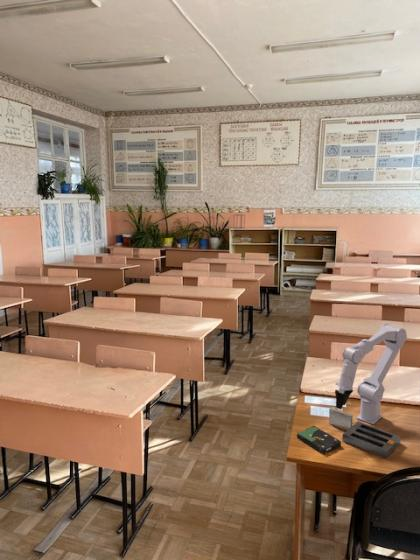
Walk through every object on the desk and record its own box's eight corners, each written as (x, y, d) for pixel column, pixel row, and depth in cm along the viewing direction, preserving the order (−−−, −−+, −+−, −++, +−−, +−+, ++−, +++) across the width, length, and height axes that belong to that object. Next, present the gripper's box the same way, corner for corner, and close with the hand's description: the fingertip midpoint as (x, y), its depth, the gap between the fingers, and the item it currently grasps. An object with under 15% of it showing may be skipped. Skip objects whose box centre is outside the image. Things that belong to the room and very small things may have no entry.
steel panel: (330, 422, 190) (331, 407, 188) (352, 430, 183) (352, 414, 181) (328, 423, 188) (329, 408, 187) (350, 431, 182) (351, 416, 180)
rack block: (357, 427, 184) (357, 420, 184) (400, 443, 172) (400, 436, 171) (342, 441, 174) (342, 433, 174) (386, 458, 162) (387, 450, 161)
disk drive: (341, 447, 171) (313, 431, 183) (341, 441, 171) (313, 425, 183) (323, 456, 165) (296, 438, 178) (323, 449, 165) (296, 432, 177)
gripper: (341, 370, 190) (335, 399, 190) (334, 375, 177) (327, 406, 178) (358, 375, 186) (350, 405, 187) (351, 380, 174) (344, 412, 174)
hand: (340, 406), depth 182 cm, fingers open, 7 cm apart
